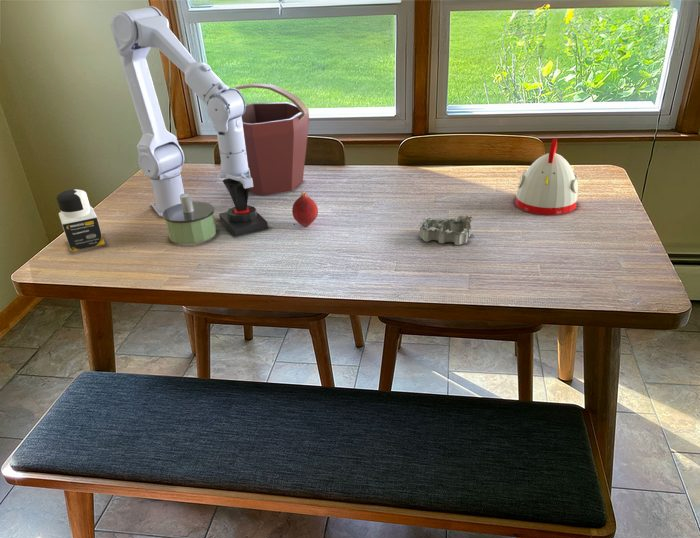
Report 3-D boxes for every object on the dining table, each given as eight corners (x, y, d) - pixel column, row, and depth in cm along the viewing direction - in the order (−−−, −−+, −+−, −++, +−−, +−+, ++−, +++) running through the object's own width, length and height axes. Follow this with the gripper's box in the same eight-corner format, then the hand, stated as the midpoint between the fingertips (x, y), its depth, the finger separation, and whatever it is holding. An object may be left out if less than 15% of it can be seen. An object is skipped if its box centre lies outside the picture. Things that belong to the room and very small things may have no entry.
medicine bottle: (71, 253, 134) (54, 200, 127) (67, 242, 139) (51, 190, 132) (105, 246, 136) (90, 193, 129) (100, 235, 142) (85, 184, 135)
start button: (232, 216, 143) (231, 208, 142) (247, 212, 144) (246, 205, 143) (237, 221, 140) (236, 213, 139) (252, 217, 141) (251, 210, 140)
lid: (158, 213, 138) (153, 192, 136) (206, 202, 142) (203, 183, 140) (170, 229, 130) (165, 208, 127) (221, 218, 134) (217, 197, 131)
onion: (315, 232, 138) (312, 197, 133) (290, 231, 139) (287, 196, 135) (321, 222, 143) (319, 188, 138) (297, 220, 144) (294, 187, 139)
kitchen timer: (510, 211, 143) (518, 146, 135) (520, 191, 154) (527, 129, 145) (573, 217, 139) (584, 150, 130) (578, 196, 149) (589, 133, 141)
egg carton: (473, 233, 134) (474, 216, 132) (464, 247, 128) (465, 229, 126) (426, 227, 138) (427, 210, 135) (415, 240, 132) (416, 222, 130)
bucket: (209, 189, 164) (192, 90, 150) (261, 165, 179) (249, 73, 165) (283, 204, 153) (271, 98, 139) (331, 177, 168) (325, 79, 154)
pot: (165, 233, 141) (159, 210, 138) (208, 223, 145) (204, 201, 141) (176, 249, 133) (171, 226, 130) (222, 239, 137) (218, 215, 134)
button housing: (219, 220, 146) (217, 206, 144) (251, 213, 149) (249, 199, 147) (234, 236, 138) (232, 222, 136) (268, 228, 141) (266, 214, 139)
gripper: (204, 145, 137) (214, 204, 145) (227, 162, 127) (236, 224, 134) (233, 140, 140) (242, 197, 148) (258, 155, 129) (266, 216, 137)
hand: (241, 209), depth 141 cm, fingers closed, pressing on start button
